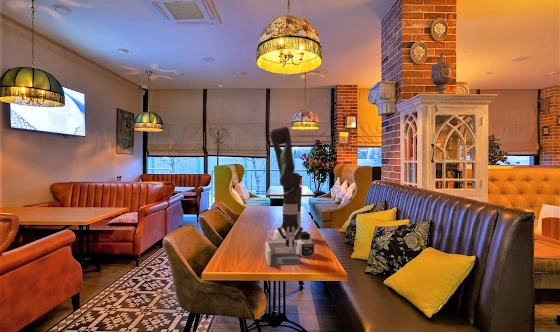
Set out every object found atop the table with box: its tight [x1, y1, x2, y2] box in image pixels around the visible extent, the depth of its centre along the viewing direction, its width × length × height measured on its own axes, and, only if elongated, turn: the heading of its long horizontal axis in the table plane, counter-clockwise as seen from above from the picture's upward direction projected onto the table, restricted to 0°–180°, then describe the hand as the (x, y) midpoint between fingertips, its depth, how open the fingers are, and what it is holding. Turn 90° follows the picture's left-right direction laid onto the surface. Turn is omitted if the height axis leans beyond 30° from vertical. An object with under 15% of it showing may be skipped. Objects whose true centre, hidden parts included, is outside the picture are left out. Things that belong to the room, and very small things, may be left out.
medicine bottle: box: [296, 230, 315, 258], centre depth 156 cm, size 7×7×12 cm
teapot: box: [266, 228, 298, 242], centre depth 179 cm, size 20×12×10 cm, turn 89°
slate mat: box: [271, 253, 302, 266], centre depth 148 cm, size 14×15×1 cm
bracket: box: [275, 234, 292, 253], centre depth 147 cm, size 8×5×8 cm, turn 98°
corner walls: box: [264, 240, 297, 267], centre depth 149 cm, size 15×16×7 cm
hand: (290, 246), depth 148 cm, fingers closed on bracket, 1 cm apart
